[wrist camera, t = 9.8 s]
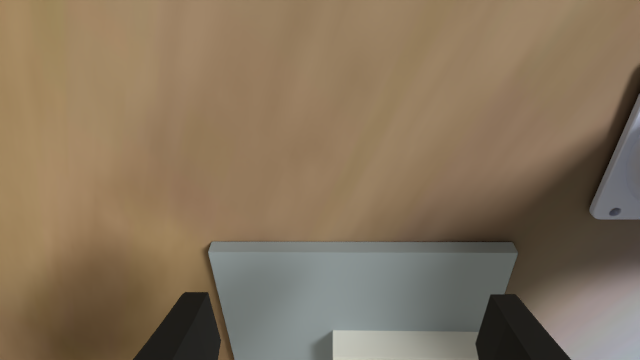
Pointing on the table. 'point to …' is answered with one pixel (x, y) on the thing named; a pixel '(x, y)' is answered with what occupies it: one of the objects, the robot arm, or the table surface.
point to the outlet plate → (358, 298)
